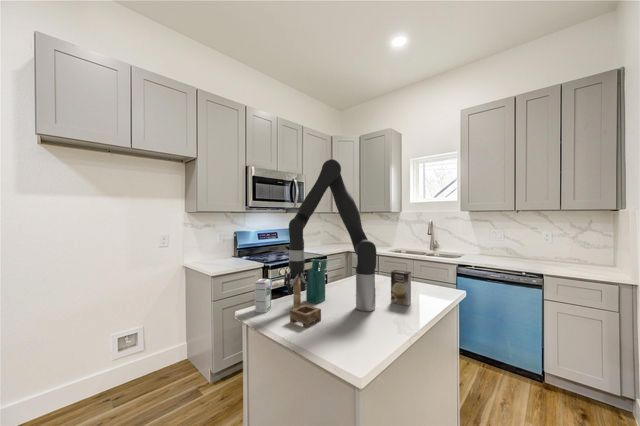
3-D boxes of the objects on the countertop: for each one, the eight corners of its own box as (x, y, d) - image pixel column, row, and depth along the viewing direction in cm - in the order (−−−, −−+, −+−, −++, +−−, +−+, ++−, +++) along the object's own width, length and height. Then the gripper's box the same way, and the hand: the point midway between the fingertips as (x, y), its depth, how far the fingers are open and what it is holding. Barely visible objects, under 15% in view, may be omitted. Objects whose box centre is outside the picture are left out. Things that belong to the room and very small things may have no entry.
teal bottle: (304, 301, 141) (304, 259, 141) (314, 296, 148) (313, 257, 148) (319, 304, 135) (319, 261, 135) (328, 300, 142) (328, 259, 142)
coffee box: (390, 302, 137) (390, 271, 138) (393, 299, 143) (393, 269, 143) (408, 305, 133) (408, 273, 133) (411, 302, 138) (411, 271, 138)
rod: (297, 307, 131) (296, 275, 131) (302, 309, 129) (301, 276, 129) (292, 309, 128) (291, 276, 128) (297, 311, 126) (296, 277, 126)
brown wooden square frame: (305, 315, 121) (304, 304, 121) (321, 320, 115) (320, 309, 115) (290, 322, 113) (290, 310, 113) (306, 328, 107) (306, 315, 107)
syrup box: (266, 312, 124) (266, 281, 124) (254, 312, 125) (254, 281, 125) (271, 308, 130) (271, 278, 130) (259, 307, 131) (259, 278, 131)
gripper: (291, 262, 120) (291, 297, 120) (312, 258, 131) (312, 290, 131) (280, 260, 125) (280, 294, 125) (301, 256, 136) (301, 288, 136)
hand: (296, 292), depth 128 cm, fingers open, 8 cm apart
